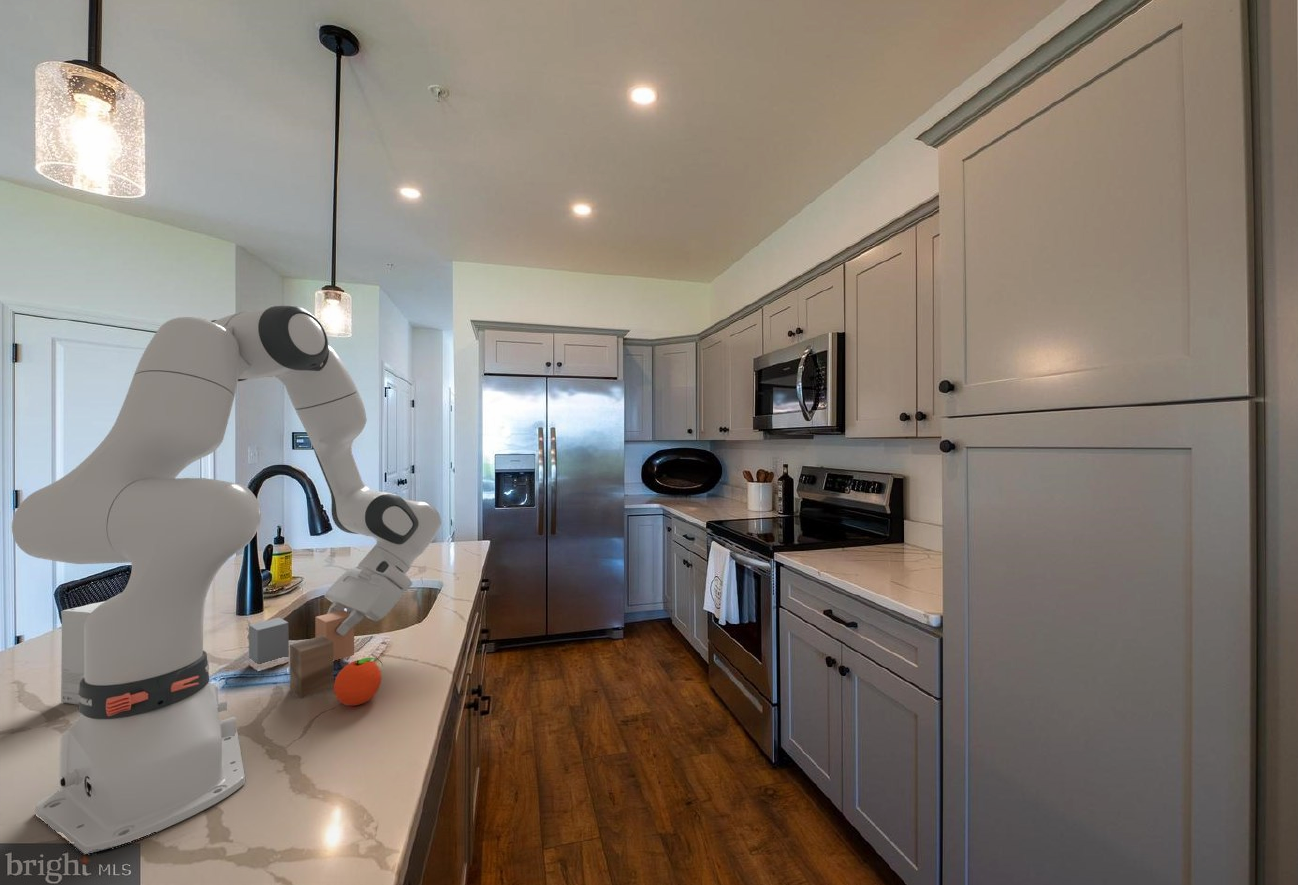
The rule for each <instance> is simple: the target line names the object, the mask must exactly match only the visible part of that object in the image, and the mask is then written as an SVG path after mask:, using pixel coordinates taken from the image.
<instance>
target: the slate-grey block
mask: <svg viewBox="0 0 1298 885" xmlns="http://www.w3.org/2000/svg"><path fill="white" fill-rule="evenodd" d="M289 632H290V631H289V622H288V621H287V620H285V619H283V618H281V617H276V618H271V619H268V620H263V621H260V622H259V621H258V622H255V623H252V624H251V623H250V624H249V625H248V659H249V658H250V659H252V660H253V661H254V662H255V663H257V664H262V663H265V662H268V661H272V660H275V659H278V658H282V657H289V658H290V644H289V635H290V634H289Z"/></svg>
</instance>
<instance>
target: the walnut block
mask: <svg viewBox="0 0 1298 885" xmlns="http://www.w3.org/2000/svg"><path fill="white" fill-rule="evenodd" d="M334 682H335V680H334V662H333V642H332V641H330V640H329V639H327V638H325V637H323V636H319V637H313V638H310V639H309V638H308V639H305V640H302V641H298V642H295V643H290V644H289V690H290V691H291V692H293V694H295V695H296V696H297V697H298V698H301V699H303V698H306V697H308V696H312V695H314V694H317V693H319V692H322V691H325V690H328V689H331V688H334Z"/></svg>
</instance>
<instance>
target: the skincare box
mask: <svg viewBox="0 0 1298 885" xmlns="http://www.w3.org/2000/svg"><path fill="white" fill-rule="evenodd" d="M105 601H106V600H104V601H100V602H94V603H89V604H85V605H82V606H77V607H73V608H68V609H64V610H61V611H60V616H61V665H60V666H61V669H60V670H61V676H60V677H61V680H60V682H61V684H60V686H61V687H60V703H64V704H70V705H76V706H77V705H78V706H79V701H78V691H79V685H80V681H81V680H82V679H83V678H84V625H85V622H86V620H87V618H88V616H89V615H90V614H91V613H92V611H94V610H95V609H96V608H97V607H98V606H99V605H101V604H102V603H104V602H105Z"/></svg>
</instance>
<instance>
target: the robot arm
mask: <svg viewBox="0 0 1298 885" xmlns="http://www.w3.org/2000/svg"><path fill="white" fill-rule="evenodd" d="M273 377H275V378H277V379H278V380H279V381H280V382H281V383H282V384H283V385H284V386H285V389H286V392H287V394H288V397H289V399H290V401H291V405H292V406H293V408H294V411H295V412H296V414H297V416H298V420H300V422H301V424H302V426H303V428H304V431H305V432H306V434H307V436H308V438H309V441H310V444H311V445H312V448H313V451H314V454H315V457H316V459H317V462H318V464H319V467H320V469H321V472H322V474H323V476H324V480H325V482H326V484H327V487H328V489H329V493H330V500H331V508H330V509H331V518H332V520H333V523H334V524H335V525H336V527H337V528H338V529H339V530H341V531H343V532H344V533H348V534H356V535H362V536H366V537H370V538H374V539H375V540H376V544H375V545H374V546H373V547H372V548H371V550H369V552H368V553H367V554H366V555H365V556H364V557H363V558H362V560H361V561H360V562H359V563H358V565H357V566H356V567H353V568H349V569H347V570H346V571H345V572H344V573H343V574H342V575H341V576H339V577H338V578H337V579H336V581H334V582H333V583H332V584H331V585H330V587H329V588H327V589H326V592H325V593H324V598H325V599H327V600H328V601H330V602H331V603H332V604H331V605H330V606H329V608H328V610H327V613H326V614H329V613H333V612H337V611H341V610H344V611H345V609H346V610H348V611H351V612H349V613H350V614H349V615H350V616H349V617H348V618H347V619H346V620H345V621H343V622H340V623H339V624H338V626H337V627H336V628H335V632H337V633H339V634H340V635H345V634H346V633H347V632H348V631H349V629H350V628H352V627H353V626H354V627H355V626H357V624H359V623H361V621H362V620H363V619H364V618H367V619H370V620H373V621H375V622H379V621H380V620H382V619H383V618H385V617H386V616H387V614H389V613H390V611H391V610H392V609H393V608H394V607H395V605H396V604H397V603H398V601H399V600H400V599H401V597H402V596H403V594H404V593H403V592H406V591H408V590H409V589H410V588H411V586H412V585H413V581H412V580H411V578H410V577H409V575H408V572H409V571H410V569H411V567H413V566H412V565H413V564H414V561H415V560H416V559H417V558H418V557H420V556H421V555H422V554H423V553H424V552H425V551H426V550H427V548H429V545H431V543H432V542H433V541H434V539H435V538H436V536H437V534H438V533H439V530H440V529H441V525H442V519H441V515H440V513H439V512H438V511H437V510H436V508H434V507H433V506H432V505H430V504H429V503H428V502H425V501H422V500H421V501H420V500H419V501H417V500H411V499H410V500H409V499H406V498H404V497H402V496H399V495H398V494H395V493H391V492H385V491H378V490H373V489H371V488H370V487H368V486H367V485H366V484H365V483H364V481H363V480H362V476H361V474H360V471H359V468H358V466H357V464H356V461H355V458H354V455H353V451H352V446H353V442H354V440H355V439H356V438H357V437H358V436H359V435H360V434H361V433H362V431H363V430H364V429H365V426H366V424H367V414H366V409H365V404H364V402H363V399H362V397H361V395H360V393H359V391H358V388H357V386H356V383H355V381H354V379H353V377H352V376H351V374H350V373H349V371H348V369H347V367H346V365H345V364H344V362H343V361H342V359H341V358H340V356H339V355H338V354H337V352H336V351H335V349H334V348H333V347H332V346H330V345H329V340H328V336H327V333H326V330H325V329H324V326H323V325H322V323H320V321H319V320H318V319H317V318H316V317H315V316H314V315H313V314H312V313H311V312H310V311H308V310H306V309H304V308H303V307H299V306H294V305H274V306H271V307H269V308H261V309H255V310H249V311H248V310H247V311H242V312H237V313H233V314H230V315H227V316H224V317H221V318H219V319H213V320H208V319H204V318H199V317H191V316H183V317H182V316H181V317H176V318H171V319H169V320H167V321H165V322H164V323H163V324H162V325H160V327H159V328H158V330H156V332H155V333H154V335H153V337H152V338H151V339H150V341H149V343H148V344H147V346H146V347H145V349H144V351H143V353H142V355H141V357H140V359H139V362H138V363H137V366H136V369H135V371H134V374H133V377H132V379H131V382H130V385H129V388H128V390H127V394H126V396H125V399H124V400H123V403H122V406H121V408H120V410H119V413H118V415H117V418H116V420H115V422H114V424H113V426H112V427H111V429H110V431H108V434H107V435H106V436H105V437H104V439H103V440H102V441H101V443H99V445H98V446H97V447H96V448H95V449H94V450H93V451H92V452H91V453H89V455H88V456H87V457H86V458H85V459H84V460H83V461H82V462H80V463H79V465H77V466H76V467H75V468H74V469H72V470H71V471H70V472H68V473H67V474H65V475H64V476H62V477H61V478H59V479H58V480H56V481H54V482H52V483H51V484H49V485H46V486H44V487H41V488H39V489H38V490H35V491H34V492H32V493H31V494H29V495H27V497H26V498H25V499H24V500H23V501H22V502H21V503H20V504H19V505H18V507H17V509H16V511H15V513H14V515H13V518H12V522H11V531H12V532H11V533H12V536H13V540H14V541H15V543H16V544H17V546H18V547H19V549H20V550H21V551H23V552H24V553H25V554H27V555H28V556H31V557H33V558H36V559H42V560H47V561H54V562H59V563H67V564H74V565H96V564H122V563H123V564H124V563H125V564H126V563H131V573H130V576H129V579H128V581H127V585H126V586H125V588H124V589H123V591H122V592H119V593H118V594H116V595H114V596H112V597H110V598H108V599H106V600H104V601H105V602H104V601H103V602H104V603H102V604H101V605H99V606H98V607H97V608H96V609H95V610H94V611H92V613H91V614H90V615H89V616H88V618H87V620H86V622H85V625H84V678H83V679H82V680H81V681H80V685H79V691H78V701H79V705H78V711H79V713H80V714H79V716H78V717H77V719H76V720H75V721H74V722H73V723H72V724H71V725H70V726H69V727H68V728H66V729H65V731H64V732H62V733H61V735H60V747H59V748H60V750H59V767H58V768H59V770H58V772H59V773H58V790H56V791H54V792H53V793H52V794H50V795H48V796H46V797H45V798H43V799H42V800H40V801H38V803H37V804H36V805H35V811H34V814H35V813H36V814H37V815H38V816H39V817H41V818H42V819H43V820H44V821H45V822H46V823H47V824H48V825H49V826H51V828H53V829H54V830H55V831H57V832H61V833H63V834H64V835H65V836H66V837H67V838H68V839H69V840H70V841H71V842H74V844H75V846H77V847H78V848H79V849H81V850H82V851H83V852H84V853H85V854H86V853H88V852H89V851H92V850H93V849H94V850H95V849H104V848H107V847H109V846H110V847H112V846H117V845H121V844H124V843H127V842H130V843H132V842H131V841H132V840H134V839H135V838H138V837H142V836H145V835H147V834H149V833H152V832H156V833H158V832H160V831H162V830H165V829H167V828H169V827H171V826H173V825H176V824H178V823H180V822H182V821H184V820H186V819H188V818H191V817H193V816H195V815H197V814H199V813H201V812H202V811H205V810H207V809H208V808H211V807H212V806H214V805H216V804H217V803H219V802H221V801H222V800H224V799H226V798H227V797H229V796H230V795H232V794H233V793H235V792H236V791H237V790H239V789H240V788H241V787H243V785H245V783H246V776H245V770H244V763H243V762H244V761H243V756H242V752H241V746H240V745H241V744H240V740H239V739H240V738H239V734H238V730H237V717H236V716H231V717H228V718H224V719H222V720H220V714H219V713H221V712H224V711H226V710H228V704H227V703H228V702H227V700H226V699H224V700H220V701H219V696H218V695H219V692H218V691H219V686H218V685H216V684H214V683H212V682H210V673H209V670H210V665H209V663H210V662H209V660H208V655H207V651H205V650H204V622H205V621H204V619H205V606H206V601H207V596H208V594H209V593H208V592H209V589H210V587H211V585H212V583H213V581H214V579H215V578H216V575H217V574H218V572H219V571H220V570H221V568H222V567H223V566H224V565H225V564H226V563H227V562H228V561H229V559H231V558H232V557H233V556H234V555H236V554H237V553H238V552H241V550H243V549H244V548H245V547H247V545H249V543H250V542H251V541H252V539H253V538H254V537H256V534H257V531H258V530H259V528H260V524H261V519H262V511H261V506H260V503H259V500H258V499H257V497H256V495H255V494H254V493H253V491H251V490H250V488H248V487H247V486H246V485H244V484H241V483H235V482H230V481H225V480H220V479H219V480H218V479H213V478H207V477H195V478H194V477H189V478H188V477H187V478H182V477H181V478H179V477H178V475H180V473H182V471H184V470H185V469H186V468H187V467H188V466H190V465H191V464H192V463H195V462H197V461H198V460H201V459H203V458H205V457H207V456H209V455H210V454H212V453H213V452H215V451H216V450H217V449H218V448H219V447H220V446H221V444H222V443H223V441H224V440H225V439H224V438H225V435H226V432H227V431H226V430H227V427H228V424H229V419H230V415H231V411H232V408H233V403H234V399H235V395H236V392H237V389H238V388H237V387H238V382H243V381H246V380H252V379H262V378H273ZM177 477H178V478H177ZM49 826H48V827H49ZM51 828H50V829H51ZM54 830H53V831H54ZM55 831H54V832H55ZM85 854H84V855H85Z"/></svg>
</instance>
